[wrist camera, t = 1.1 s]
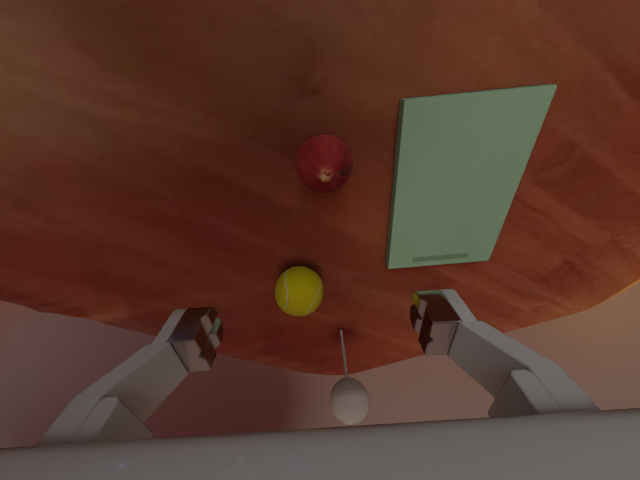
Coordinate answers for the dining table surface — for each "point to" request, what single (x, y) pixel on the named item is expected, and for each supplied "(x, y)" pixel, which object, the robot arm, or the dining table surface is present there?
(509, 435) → the robot arm
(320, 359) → the dining table surface
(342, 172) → the onion
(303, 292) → the tennis ball
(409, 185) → the cutting board
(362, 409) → the lollipop
